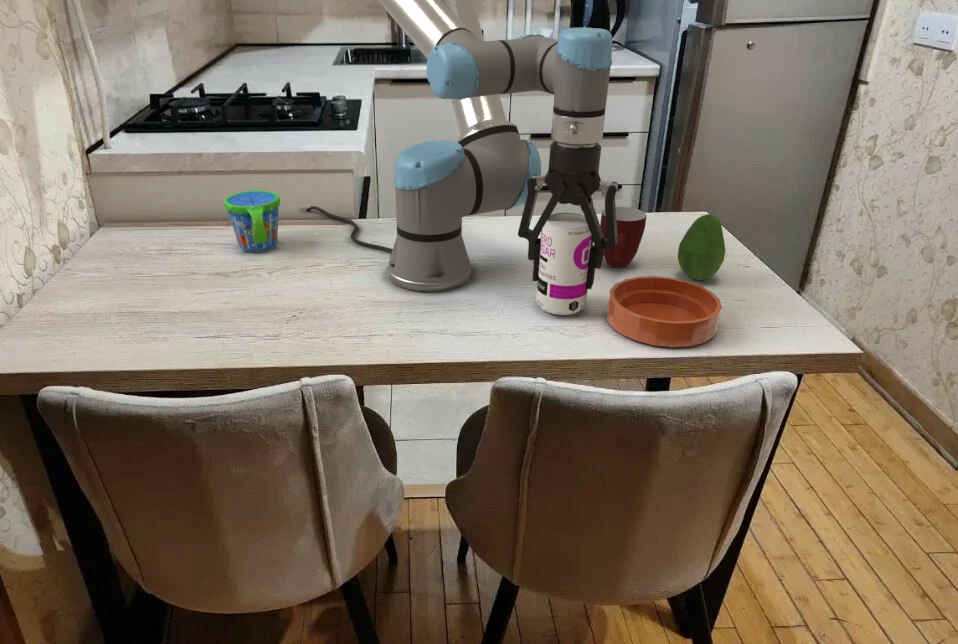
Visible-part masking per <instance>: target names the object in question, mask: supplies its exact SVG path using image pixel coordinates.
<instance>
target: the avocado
mask: <svg viewBox="0 0 958 644" xmlns="http://www.w3.org/2000/svg"><path fill="white" fill-rule="evenodd" d="M725 255H726V245H725V239H724V231H723V226H722V223H721V220H720V219H719V218H718V217H717V216H716V215H715V214H714V213H713V214H711V213H707V214H703V215H701V216H699V217H698V218H696V219H695V220H694V222H692V224H691V225H690V226H689V228H688V229H687V230H686V232H685V234H684V236H683V237H682V238H681V241H680V242H679V244H678V250H677V261H678V266H679V267H680V269H681V270H682V271H683V273H684V274H685V275H687V276H688V277H689V278H690V279H693V280H696V281H706V280H708V279H710V278H711V277H713V276H715V275H716V274H717V273H718V271H719V270H720V268H721V266H722V265H723V264H724V263H723V262H724V261H725Z"/></svg>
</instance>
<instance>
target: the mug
mask: <svg viewBox="0 0 958 644" xmlns="http://www.w3.org/2000/svg"><path fill="white" fill-rule="evenodd" d="M647 218H648V217H647V213H646V212H645V211H643V210H641V209H638V208H635V207H630V206H616V222H617V237H618V241H617V243H616V246H615V248H612V249H611V248H608V249H605V250H604V257H603V259H604V261H605V263H606V264H607V266H609V267H611V268H615V269H625V268H626V267H628V266H629V265H630V263H631V262H632V261H633V260H634V258H635V257H636V255H637V253H638V250H639V248H640V245H641V242H642V238H643V236H644V233H645V229H646V223H647ZM599 224H600V226H601V229H602V232H603V235H604V238H605V239H606V238H607V228H606V214H605V208H604V209H603V210H602V211H601V216H600V221H599Z"/></svg>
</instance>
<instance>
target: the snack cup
mask: <svg viewBox="0 0 958 644" xmlns="http://www.w3.org/2000/svg"><path fill="white" fill-rule="evenodd" d="M280 204H281V198H280V195H279V194H278V193H277V192H274V191H269V190H261V189H260V190H259V189H257V190H246V191H240V192H236V193H233V194H230V195H228V196H226V197H225V198H224V208H225V209H226V211H227V212H228V215H229V220H230V222H231V224H232V229H233V231H234V234H235V238H236V241H237V244H238V247H239V249H240V250H242V251H243V252H249V253H263V252H268V251H270V250H272V249H273V248H276V247H277V244H278V237H279V207H280Z"/></svg>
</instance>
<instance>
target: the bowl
mask: <svg viewBox="0 0 958 644" xmlns="http://www.w3.org/2000/svg"><path fill="white" fill-rule="evenodd" d="M722 309H723V306H722V303H721V299H720V298H719V297H718V296H717V295H716V294H715V293H714V292H713V291H711V290H709V289H708V288H706V287H704V286H702V285H700V284H697V283H694V282H691V281H688V280H685V279H679V278H675V277H669V276H658V275H648V276H635V277H630V278H626V279H623V280H620V281H619V282H616V283H614V285H613V286H612V287H611V288H610V289H609V294H608V302H607V309H606V321H607V322H608V323H609V325H610V326H611V328H613V329H614V330H615V331H616V332H618V333H619V334H621V335H623V336H624V337H627V338H629V339H630V340H633V341H636V342H639V343H643V344H647V345H651V346H656V347H657V346H658V347H666V348H682V347H694V346H696V345H697V346H698V345H701V344H704V343H706V342H708V341H709V340H711V339H713V338H714V336H715V335H716V333H717V331H718V327H719V322H720V319H721V314H722Z"/></svg>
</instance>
